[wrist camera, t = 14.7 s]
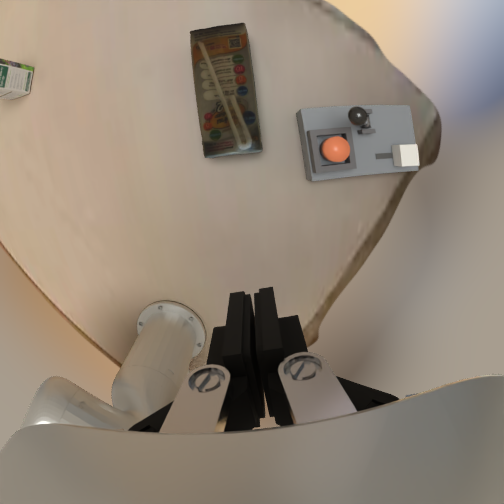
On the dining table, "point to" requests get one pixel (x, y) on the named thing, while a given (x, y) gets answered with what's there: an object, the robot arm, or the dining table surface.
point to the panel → (355, 140)
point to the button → (335, 149)
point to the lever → (359, 117)
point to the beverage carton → (225, 91)
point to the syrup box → (14, 79)
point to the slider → (405, 155)
